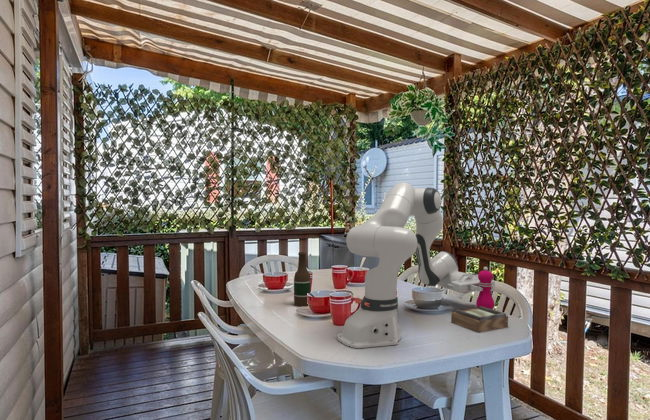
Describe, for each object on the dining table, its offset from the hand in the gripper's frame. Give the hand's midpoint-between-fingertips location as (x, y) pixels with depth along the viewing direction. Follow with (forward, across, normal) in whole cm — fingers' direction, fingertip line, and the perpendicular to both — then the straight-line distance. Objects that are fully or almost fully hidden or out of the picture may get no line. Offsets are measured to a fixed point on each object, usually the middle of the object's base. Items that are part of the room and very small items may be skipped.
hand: (487, 288), depth 182 cm
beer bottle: (-50, -62, +11) cm, 80 cm away
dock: (+9, -13, +11) cm, 19 cm away
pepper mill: (-1, 0, +11) cm, 11 cm away
